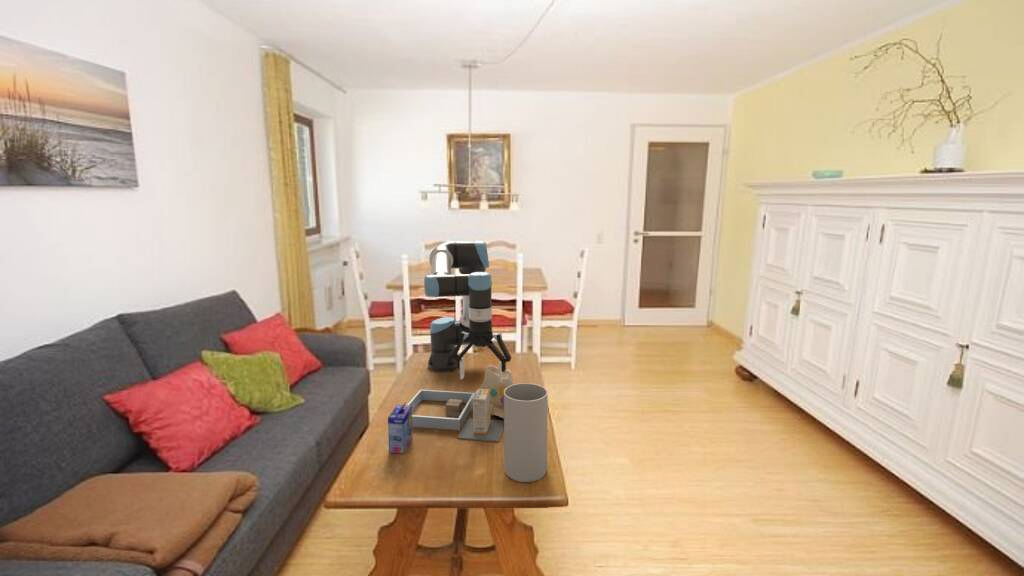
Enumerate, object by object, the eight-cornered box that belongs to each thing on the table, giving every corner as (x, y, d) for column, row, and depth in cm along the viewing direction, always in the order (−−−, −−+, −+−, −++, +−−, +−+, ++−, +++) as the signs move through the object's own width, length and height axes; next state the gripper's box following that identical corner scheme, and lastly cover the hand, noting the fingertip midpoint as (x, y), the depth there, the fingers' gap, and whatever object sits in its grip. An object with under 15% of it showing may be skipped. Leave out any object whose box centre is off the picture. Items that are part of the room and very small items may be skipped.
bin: (420, 398, 187) (420, 389, 186) (475, 402, 183) (475, 392, 182) (398, 425, 165) (397, 415, 164) (460, 430, 161) (459, 419, 160)
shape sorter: (529, 417, 170) (529, 370, 167) (509, 426, 162) (509, 378, 160) (491, 402, 183) (491, 359, 181) (471, 410, 176) (471, 365, 173)
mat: (468, 419, 169) (467, 418, 169) (505, 422, 167) (505, 420, 167) (457, 438, 156) (457, 437, 156) (498, 442, 153) (498, 440, 153)
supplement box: (477, 422, 166) (476, 388, 163) (490, 423, 165) (490, 389, 162) (472, 434, 158) (471, 398, 155) (486, 435, 157) (486, 398, 154)
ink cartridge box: (405, 454, 146) (403, 411, 144) (388, 453, 147) (385, 411, 144) (413, 438, 156) (411, 398, 153) (397, 437, 156) (395, 397, 154)
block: (449, 411, 176) (449, 399, 175) (462, 412, 175) (462, 399, 174) (445, 417, 171) (445, 404, 170) (459, 418, 170) (458, 405, 169)
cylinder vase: (533, 488, 129) (534, 405, 124) (496, 474, 135) (495, 394, 130) (553, 467, 139) (555, 388, 134) (518, 455, 146) (518, 380, 141)
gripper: (440, 320, 152) (443, 381, 156) (516, 323, 148) (516, 385, 152) (447, 314, 159) (449, 372, 164) (519, 317, 155) (519, 376, 160)
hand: (481, 379), depth 158 cm, fingers open, 13 cm apart
